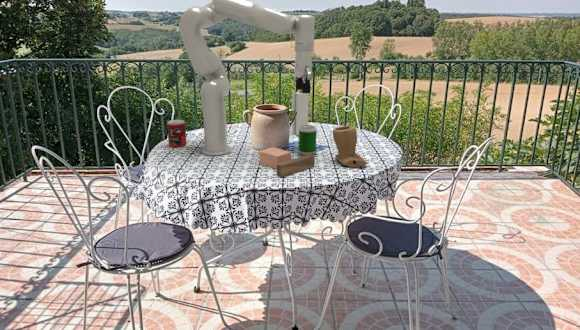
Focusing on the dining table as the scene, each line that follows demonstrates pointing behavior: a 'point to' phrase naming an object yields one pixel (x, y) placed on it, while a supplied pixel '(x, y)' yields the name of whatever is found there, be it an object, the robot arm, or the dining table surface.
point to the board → (295, 165)
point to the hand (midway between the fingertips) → (303, 91)
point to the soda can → (307, 139)
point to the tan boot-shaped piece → (347, 146)
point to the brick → (273, 157)
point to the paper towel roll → (300, 110)
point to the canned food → (176, 133)
